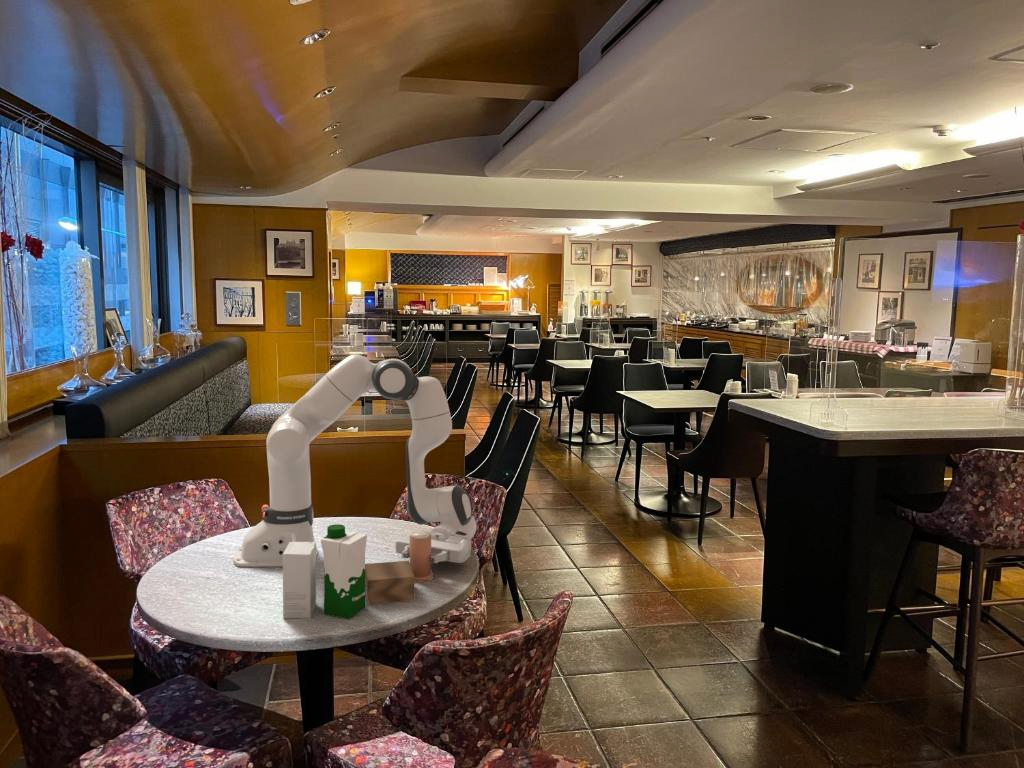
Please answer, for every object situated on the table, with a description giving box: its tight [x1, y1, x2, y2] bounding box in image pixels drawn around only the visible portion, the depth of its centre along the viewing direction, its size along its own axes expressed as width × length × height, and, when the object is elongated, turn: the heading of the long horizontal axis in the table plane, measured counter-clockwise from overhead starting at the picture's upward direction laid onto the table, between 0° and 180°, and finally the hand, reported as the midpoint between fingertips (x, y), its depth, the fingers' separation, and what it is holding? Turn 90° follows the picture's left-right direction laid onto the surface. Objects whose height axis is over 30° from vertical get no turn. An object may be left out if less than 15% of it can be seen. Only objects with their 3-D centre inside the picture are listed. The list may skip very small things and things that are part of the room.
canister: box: [409, 530, 434, 583], centre depth 195 cm, size 7×7×12 cm
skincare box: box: [282, 541, 317, 620], centre depth 173 cm, size 8×7×16 cm
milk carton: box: [320, 523, 368, 620], centre depth 173 cm, size 9×9×20 cm
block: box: [365, 560, 415, 605], centre depth 185 cm, size 11×11×6 cm
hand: (418, 557), depth 194 cm, fingers open, 7 cm apart
